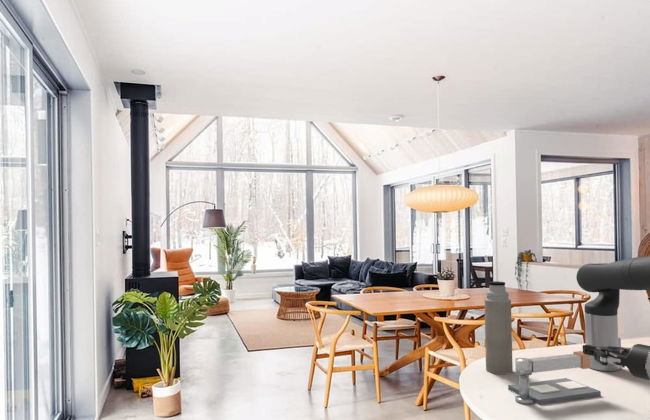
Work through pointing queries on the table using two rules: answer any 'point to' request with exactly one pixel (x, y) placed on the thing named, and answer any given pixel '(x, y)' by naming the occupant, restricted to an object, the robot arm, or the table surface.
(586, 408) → the table surface
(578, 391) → the label tray
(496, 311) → the thermos bottle
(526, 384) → the post
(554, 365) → the swing arm
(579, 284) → the robot arm
